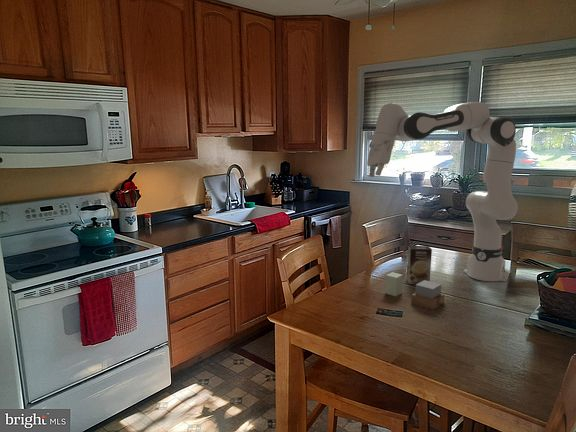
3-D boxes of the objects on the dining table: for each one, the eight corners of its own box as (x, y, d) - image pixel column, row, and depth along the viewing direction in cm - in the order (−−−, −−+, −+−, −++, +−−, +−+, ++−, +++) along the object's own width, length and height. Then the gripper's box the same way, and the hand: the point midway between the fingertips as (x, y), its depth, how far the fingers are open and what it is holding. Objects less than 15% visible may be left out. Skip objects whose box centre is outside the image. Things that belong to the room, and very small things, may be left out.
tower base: (422, 297, 166) (422, 288, 165) (443, 303, 160) (444, 294, 159) (411, 304, 160) (411, 294, 159) (433, 310, 154) (433, 300, 153)
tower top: (424, 289, 164) (424, 280, 163) (440, 294, 159) (441, 284, 158) (415, 294, 159) (415, 284, 159) (432, 299, 154) (432, 289, 154)
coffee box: (408, 284, 180) (410, 249, 177) (406, 279, 186) (407, 245, 183) (430, 284, 179) (432, 249, 176) (426, 279, 185) (428, 245, 182)
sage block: (391, 290, 174) (392, 272, 172) (402, 293, 170) (402, 274, 169) (385, 293, 170) (385, 275, 169) (395, 296, 167) (396, 277, 165)
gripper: (398, 141, 154) (389, 176, 155) (382, 147, 175) (374, 179, 175) (383, 136, 154) (374, 172, 154) (368, 144, 174) (360, 175, 174)
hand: (374, 176), depth 165 cm, fingers open, 8 cm apart
